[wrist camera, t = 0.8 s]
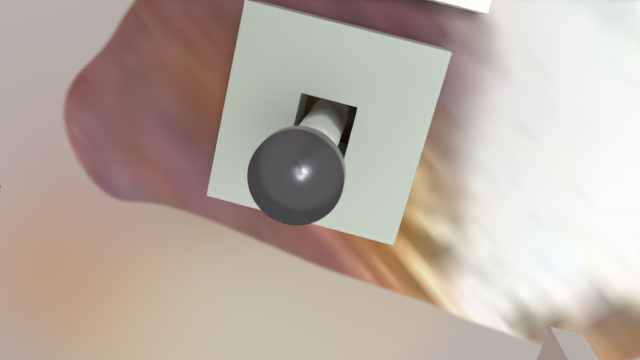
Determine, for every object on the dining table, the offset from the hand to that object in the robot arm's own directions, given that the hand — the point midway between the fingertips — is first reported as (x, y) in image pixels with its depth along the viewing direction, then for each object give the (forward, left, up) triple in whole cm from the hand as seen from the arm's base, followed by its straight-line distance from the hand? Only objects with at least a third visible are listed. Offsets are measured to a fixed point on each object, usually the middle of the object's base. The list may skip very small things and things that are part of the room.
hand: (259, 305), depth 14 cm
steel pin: (0, -1, -27) cm, 27 cm away
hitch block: (0, -1, -27) cm, 27 cm away
